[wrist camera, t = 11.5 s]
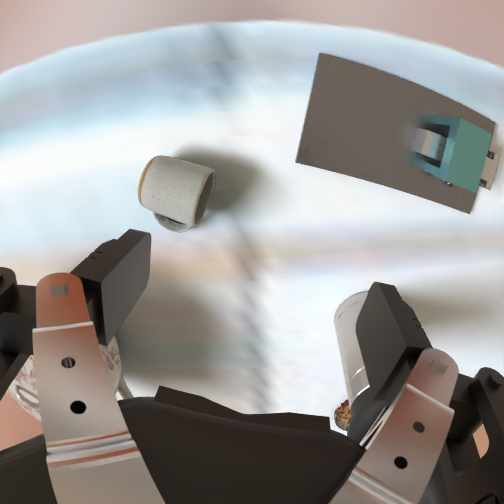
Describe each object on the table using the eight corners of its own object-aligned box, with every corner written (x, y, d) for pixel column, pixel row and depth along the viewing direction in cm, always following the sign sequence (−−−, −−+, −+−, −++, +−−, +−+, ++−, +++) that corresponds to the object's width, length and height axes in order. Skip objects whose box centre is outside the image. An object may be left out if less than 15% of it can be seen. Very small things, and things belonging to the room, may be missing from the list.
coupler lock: (467, 128, 33) (491, 133, 27) (452, 185, 36) (474, 197, 31) (437, 115, 33) (460, 118, 27) (422, 174, 36) (443, 186, 31)
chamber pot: (8, 275, 51) (-57, 333, 32) (102, 248, 46) (22, 327, 27) (70, 379, 62) (30, 444, 43) (169, 379, 57) (136, 469, 38)
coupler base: (491, 121, 32) (507, 124, 29) (466, 211, 38) (479, 221, 35) (318, 54, 32) (322, 48, 29) (295, 161, 38) (296, 166, 35)
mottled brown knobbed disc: (396, 411, 57) (403, 438, 50) (347, 431, 61) (351, 459, 54) (378, 383, 54) (385, 413, 47) (323, 407, 57) (326, 437, 50)
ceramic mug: (162, 148, 39) (139, 158, 32) (220, 163, 39) (207, 176, 33) (149, 219, 44) (127, 240, 37) (202, 235, 44) (187, 259, 37)
